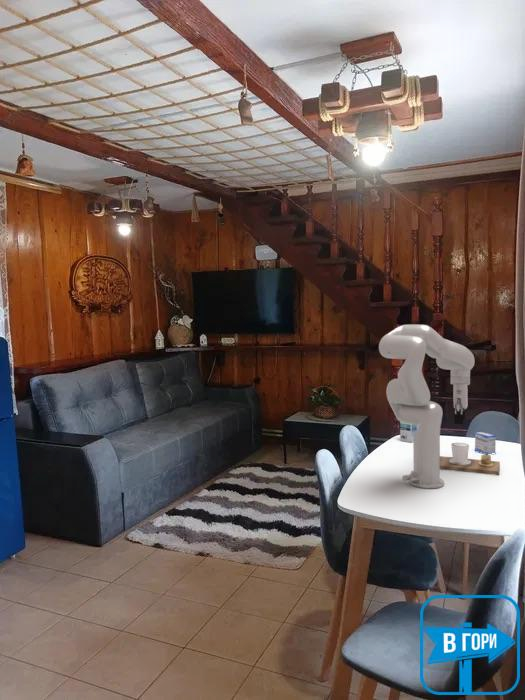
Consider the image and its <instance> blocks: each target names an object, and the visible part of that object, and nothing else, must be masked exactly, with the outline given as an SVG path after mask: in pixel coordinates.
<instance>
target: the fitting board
mask: <svg viewBox="0 0 525 700" xmlns="http://www.w3.org/2000/svg"><path fill="white" fill-rule="evenodd" d="M500 464H501V463H500V461H499V460H498V461H497V460H496V461H495V460H492V456H491V455H487V454H481V456H480V459H473V458H468V459H467V462H466V463H457V462H454V461H453V456H441V455H440V470H445V471H453V470H454V472H455V471H456V472H463V473H464V472H465V473H474V474H475V473H476V474H485V475H493V476H495V475H496V476H500V467H501V466H500ZM494 474H495V475H494Z"/></svg>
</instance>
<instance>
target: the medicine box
mask: <svg viewBox="0 0 525 700" xmlns="http://www.w3.org/2000/svg"><path fill="white" fill-rule="evenodd" d="M474 435H475V436H474V438H475V441H474V451H475V452H476V451H479V452H478V453H480V452H482V453H481V454H483V453H486V454H485V455H487V454H492V453H495V454H496V439H497V438H496V435H495V434H491V433H487V432H483V431H479V432H475V434H474ZM492 455H493V454H492Z"/></svg>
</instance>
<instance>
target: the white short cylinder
mask: <svg viewBox="0 0 525 700" xmlns="http://www.w3.org/2000/svg"><path fill="white" fill-rule="evenodd" d="M450 445H451V457H453V461H454V462H457V463H466V462H467V459H469V448H470V445H469V444H468V443H465V442H453V443H451V444H450Z"/></svg>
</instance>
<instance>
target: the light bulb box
mask: <svg viewBox="0 0 525 700" xmlns="http://www.w3.org/2000/svg"><path fill="white" fill-rule="evenodd" d="M399 425H400V426H399V427H400V428H399V438H400V442H405V443H412V444H413V438H414V434H415V433H416V431H417V430H418V429H419V427H420V426H419V425H415V424H408V423H403V422H400V421H399Z"/></svg>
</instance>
